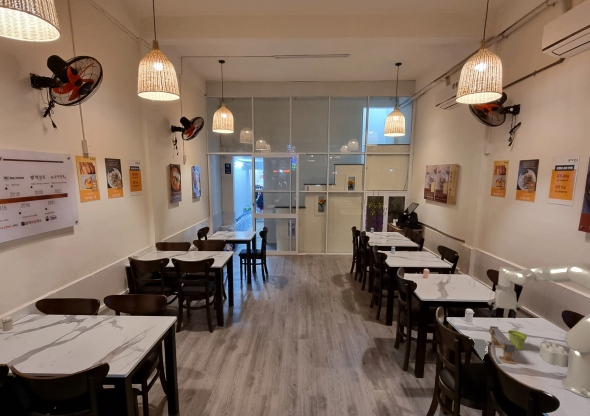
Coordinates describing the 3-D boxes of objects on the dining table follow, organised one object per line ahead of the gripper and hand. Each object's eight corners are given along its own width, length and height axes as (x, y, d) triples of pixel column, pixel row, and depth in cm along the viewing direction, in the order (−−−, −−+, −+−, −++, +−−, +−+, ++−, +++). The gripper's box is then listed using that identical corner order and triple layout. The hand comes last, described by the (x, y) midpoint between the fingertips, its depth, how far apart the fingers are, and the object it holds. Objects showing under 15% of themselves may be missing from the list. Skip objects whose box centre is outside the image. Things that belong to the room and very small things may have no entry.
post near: (515, 364, 155) (517, 348, 154) (502, 362, 156) (503, 346, 156) (511, 359, 160) (512, 343, 159) (498, 357, 161) (499, 341, 160)
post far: (502, 348, 170) (503, 333, 169) (490, 346, 172) (491, 332, 171) (498, 343, 175) (499, 329, 174) (487, 342, 177) (488, 328, 176)
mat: (501, 363, 155) (501, 362, 155) (483, 361, 157) (483, 360, 157) (483, 340, 178) (483, 339, 178) (468, 338, 181) (468, 337, 181)
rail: (514, 352, 154) (515, 346, 154) (506, 351, 155) (506, 344, 155) (497, 332, 175) (497, 326, 175) (489, 332, 176) (490, 326, 176)
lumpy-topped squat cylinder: (544, 363, 156) (545, 348, 156) (535, 350, 168) (537, 337, 168) (568, 368, 152) (570, 353, 151) (558, 355, 164) (559, 341, 163)
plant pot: (508, 349, 169) (509, 335, 169) (505, 341, 178) (506, 328, 177) (527, 353, 165) (529, 339, 164) (523, 345, 173) (524, 332, 173)
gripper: (491, 289, 161) (489, 317, 163) (526, 292, 157) (524, 321, 158) (486, 284, 168) (484, 311, 170) (519, 287, 164) (517, 315, 165)
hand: (503, 316), depth 164 cm, fingers open, 9 cm apart
